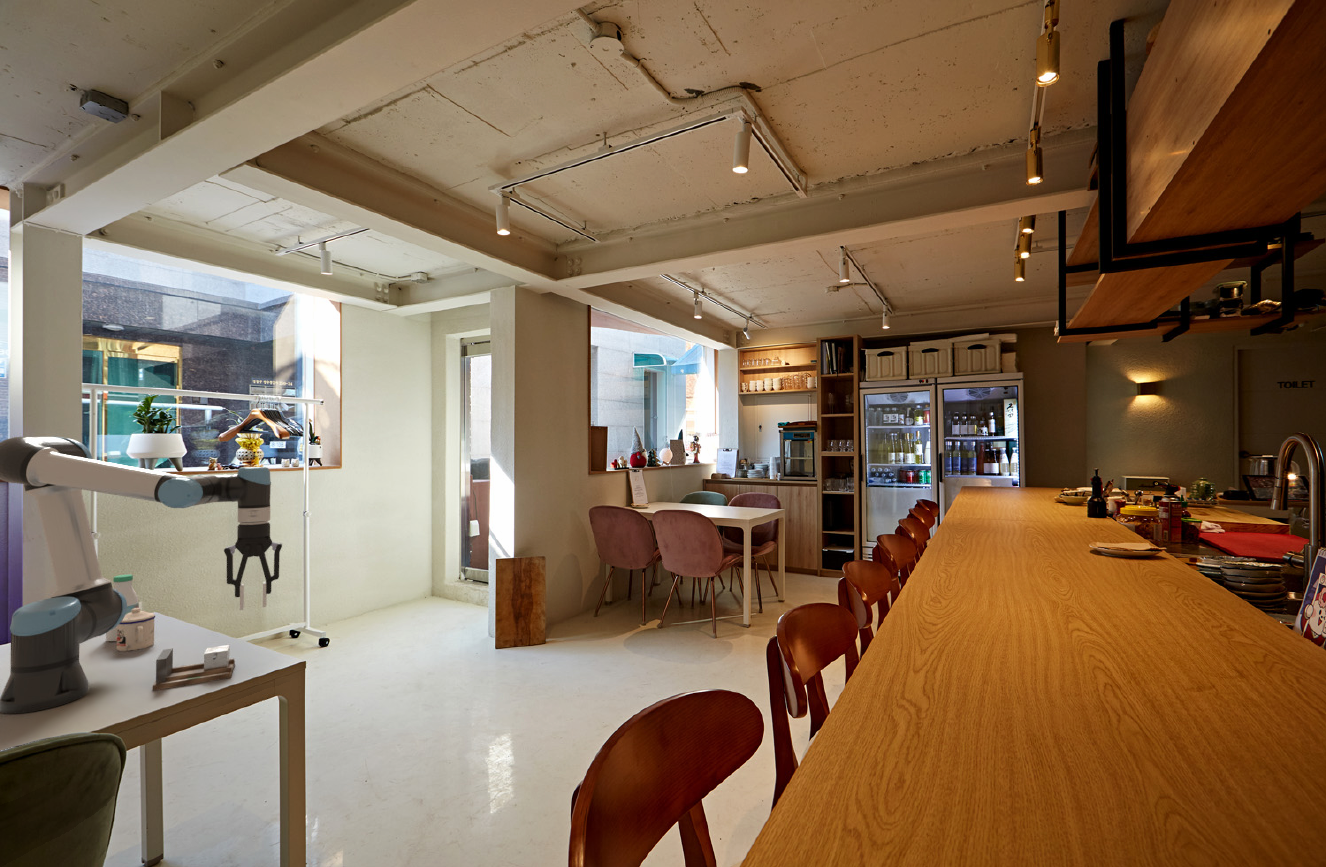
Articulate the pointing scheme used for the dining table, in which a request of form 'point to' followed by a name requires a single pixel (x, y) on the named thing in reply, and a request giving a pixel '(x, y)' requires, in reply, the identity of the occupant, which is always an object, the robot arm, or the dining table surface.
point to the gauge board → (185, 672)
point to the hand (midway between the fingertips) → (253, 607)
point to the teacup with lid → (135, 631)
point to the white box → (216, 657)
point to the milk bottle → (125, 587)
